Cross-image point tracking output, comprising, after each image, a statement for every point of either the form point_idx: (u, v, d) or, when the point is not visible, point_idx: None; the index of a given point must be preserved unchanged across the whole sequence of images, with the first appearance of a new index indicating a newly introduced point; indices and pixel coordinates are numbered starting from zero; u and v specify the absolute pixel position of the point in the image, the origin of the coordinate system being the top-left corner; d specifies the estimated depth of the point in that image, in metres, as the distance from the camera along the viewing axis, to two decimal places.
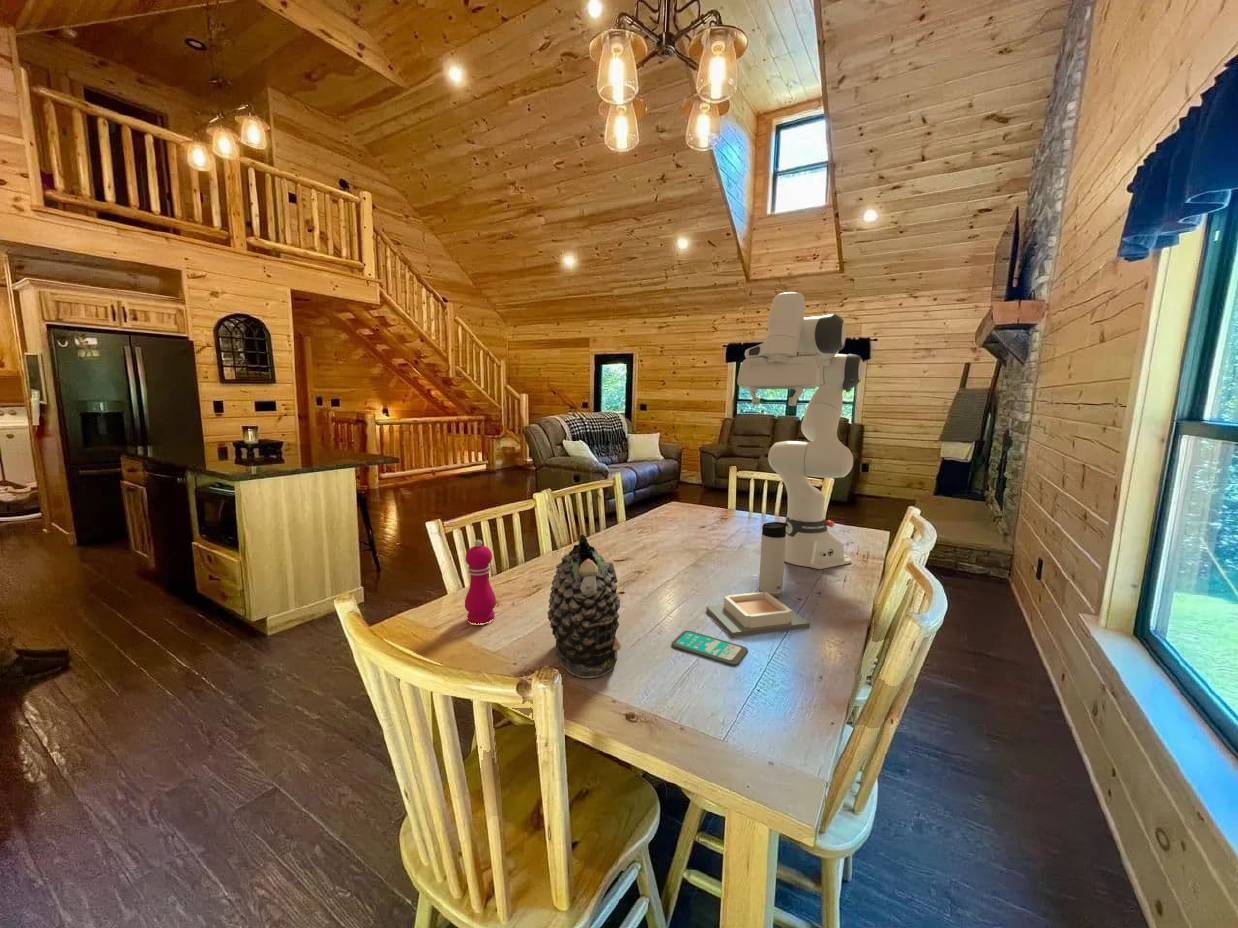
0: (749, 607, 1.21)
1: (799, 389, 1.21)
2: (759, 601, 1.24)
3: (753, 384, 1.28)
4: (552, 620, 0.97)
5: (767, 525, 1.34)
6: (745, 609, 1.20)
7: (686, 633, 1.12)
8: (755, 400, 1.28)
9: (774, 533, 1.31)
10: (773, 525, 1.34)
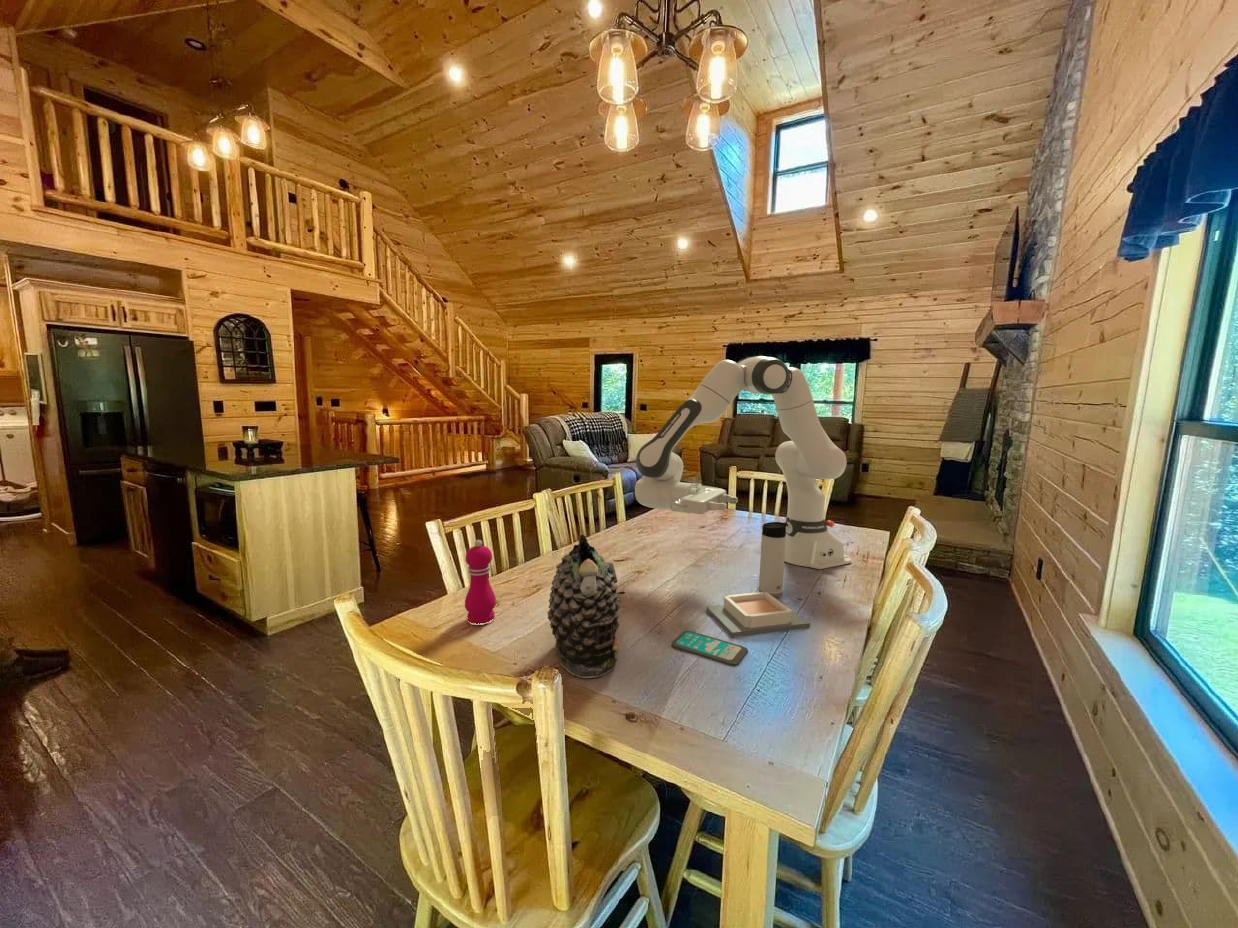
0: (749, 607, 1.21)
1: None
2: (759, 601, 1.24)
3: None
4: (552, 620, 0.97)
5: (767, 525, 1.34)
6: (745, 609, 1.20)
7: (686, 633, 1.12)
8: None
9: (774, 533, 1.31)
10: (773, 525, 1.34)
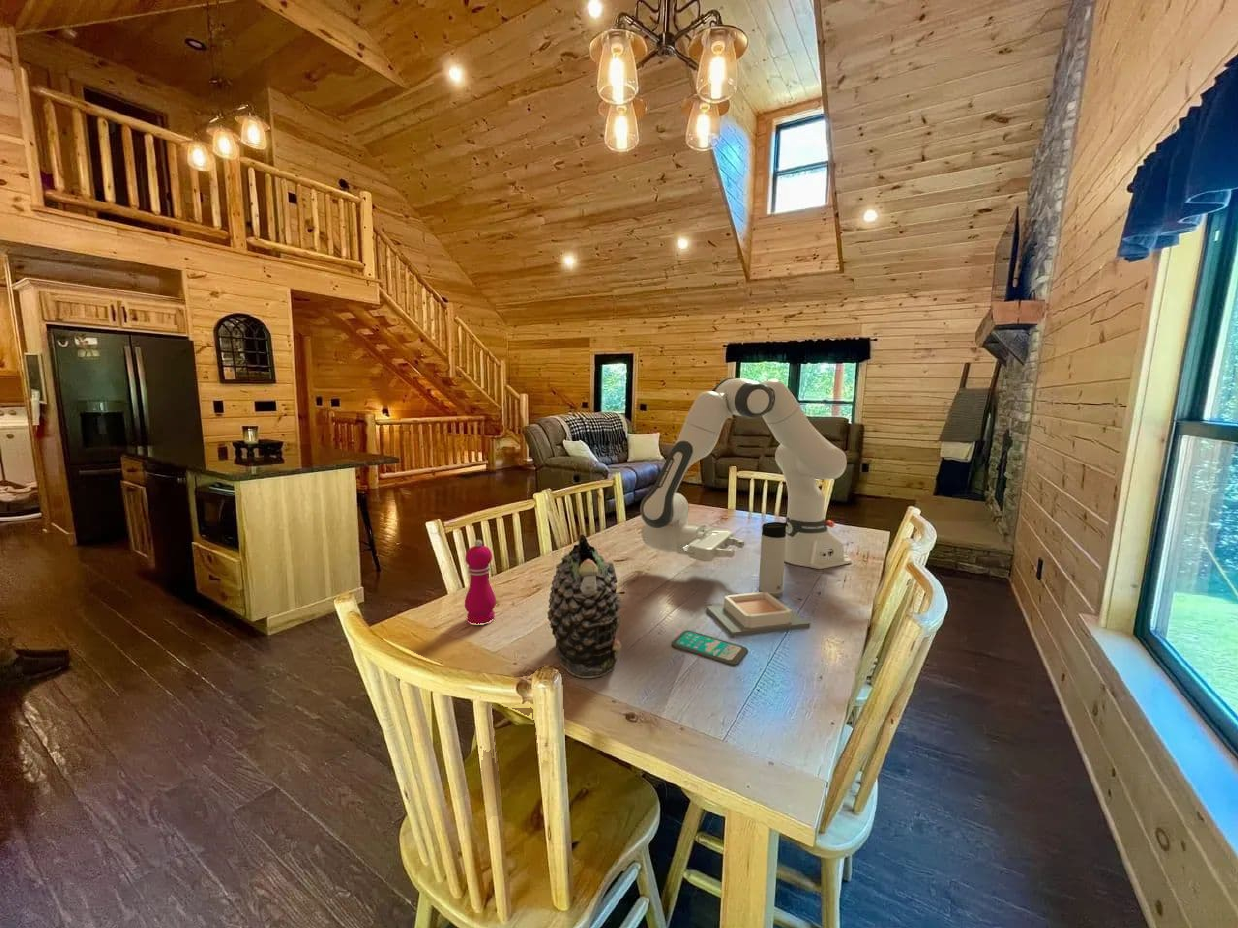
0: (749, 607, 1.21)
1: (718, 556, 1.36)
2: (759, 601, 1.24)
3: (727, 546, 1.47)
4: (552, 620, 0.97)
5: (767, 525, 1.34)
6: (745, 609, 1.20)
7: (686, 633, 1.12)
8: None
9: (774, 533, 1.31)
10: (773, 525, 1.34)
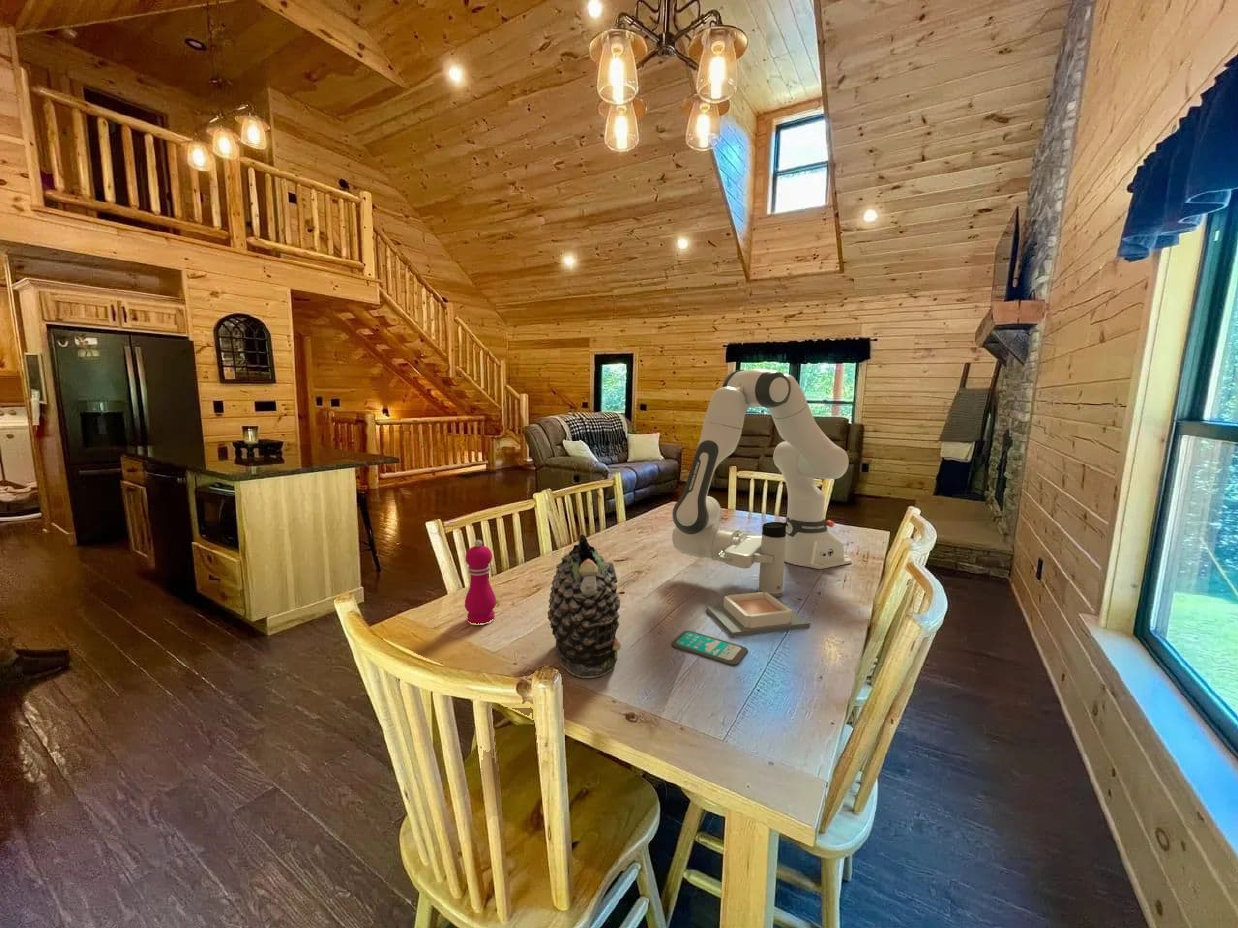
0: (749, 607, 1.21)
1: None
2: (759, 601, 1.24)
3: None
4: (552, 620, 0.97)
5: (767, 525, 1.34)
6: (745, 609, 1.20)
7: (686, 633, 1.12)
8: None
9: (774, 533, 1.31)
10: (773, 525, 1.34)
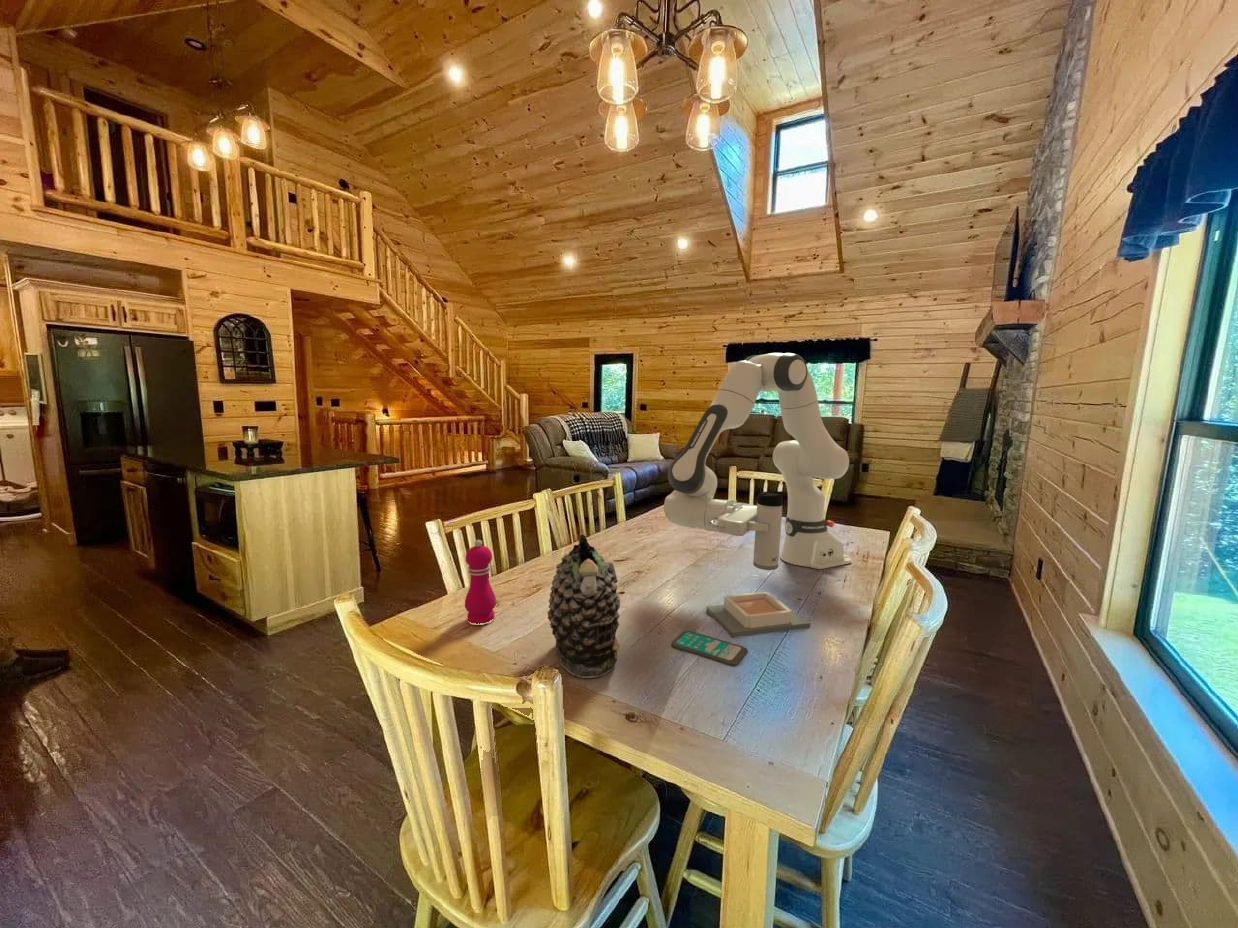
0: (749, 607, 1.21)
1: (751, 530, 1.24)
2: (759, 601, 1.24)
3: None
4: (552, 620, 0.97)
5: (763, 494, 1.27)
6: (745, 609, 1.20)
7: (686, 633, 1.12)
8: None
9: (770, 502, 1.24)
10: (769, 494, 1.27)
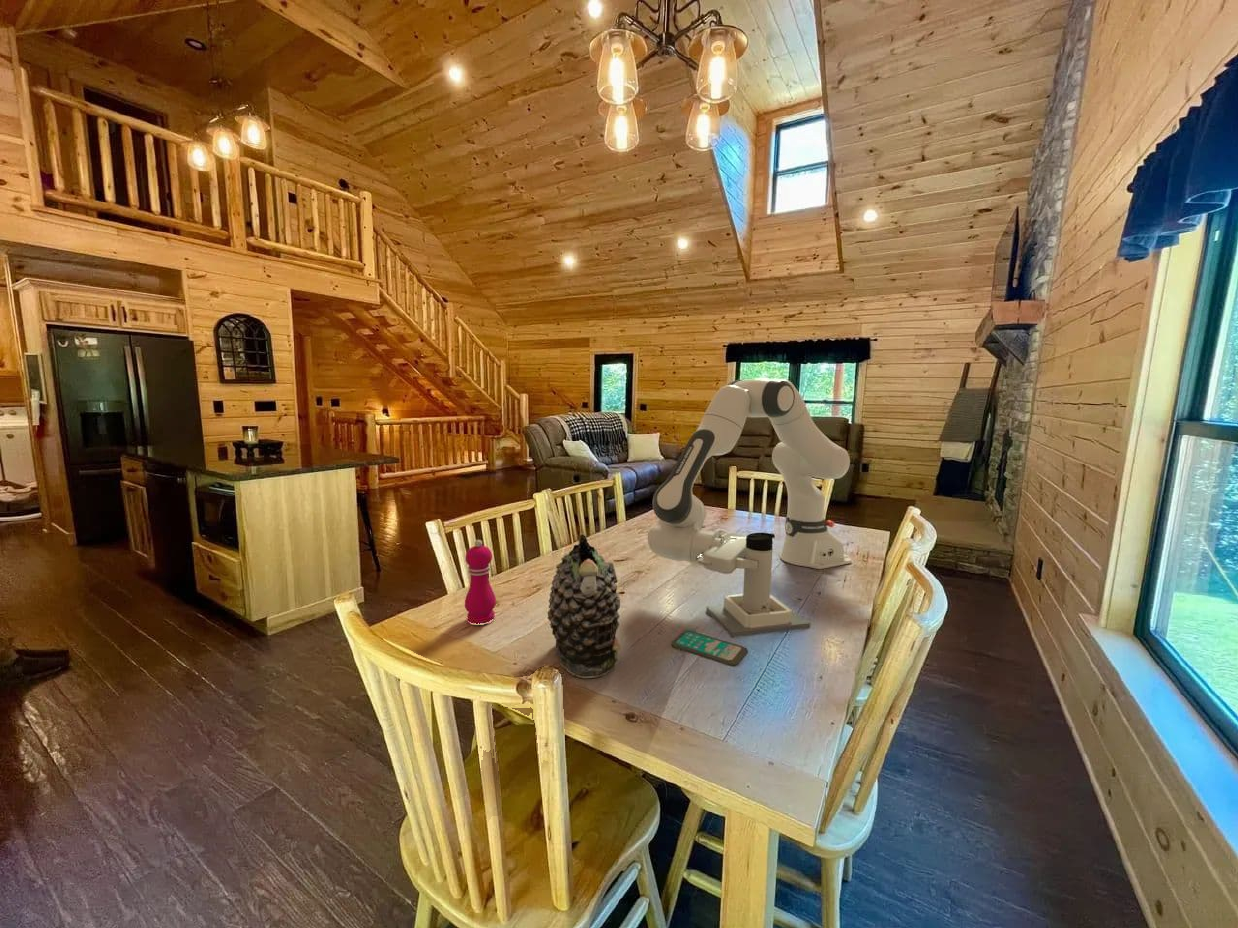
0: None
1: None
2: None
3: None
4: (552, 620, 0.97)
5: (752, 536, 1.19)
6: None
7: (686, 633, 1.12)
8: None
9: (758, 546, 1.15)
10: (758, 536, 1.18)
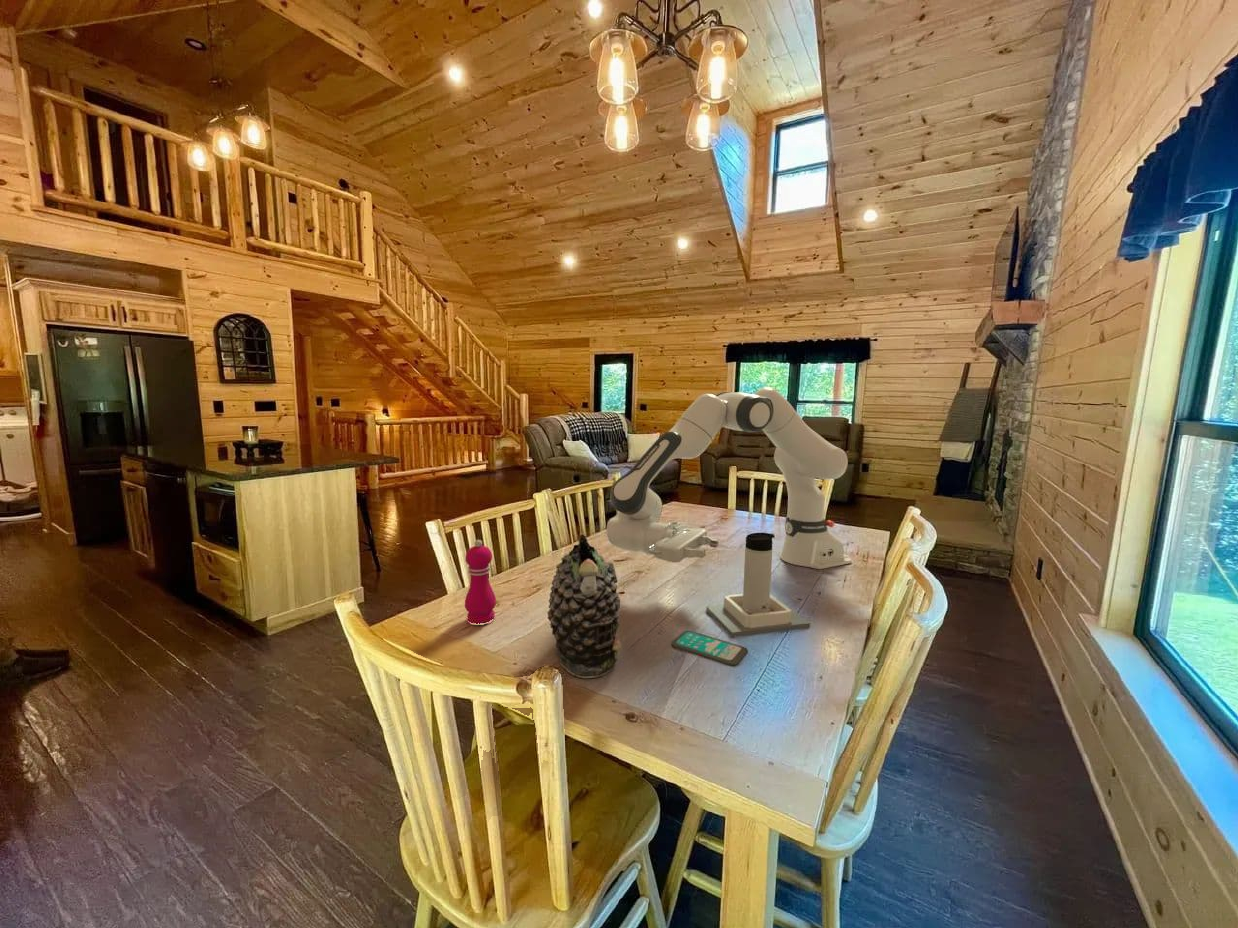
0: None
1: None
2: None
3: (700, 546, 1.32)
4: (552, 620, 0.97)
5: (751, 536, 1.19)
6: None
7: (686, 633, 1.12)
8: None
9: (758, 546, 1.15)
10: (758, 536, 1.18)
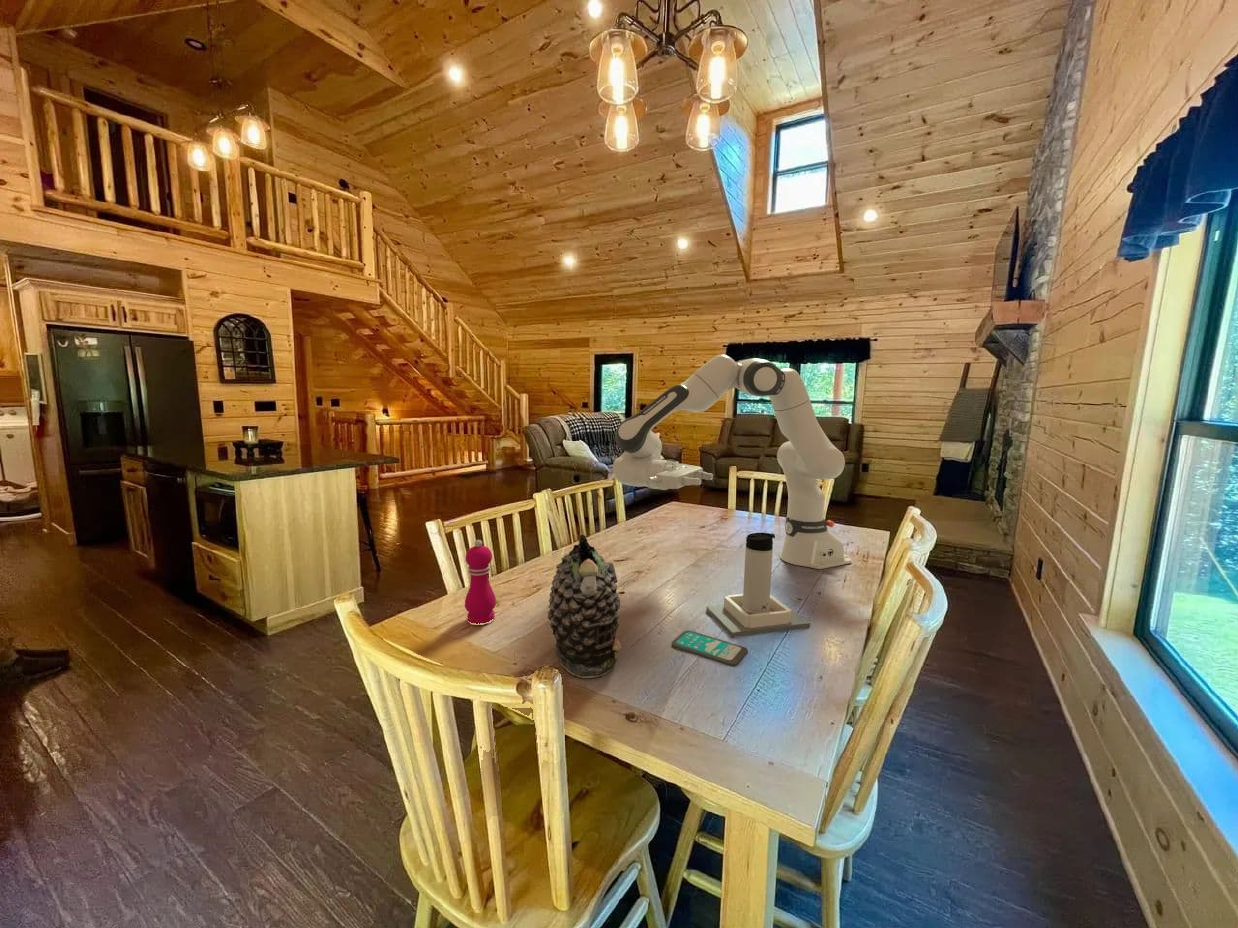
0: None
1: None
2: None
3: None
4: (552, 620, 0.97)
5: (752, 536, 1.19)
6: None
7: (687, 633, 1.12)
8: None
9: (759, 546, 1.15)
10: (758, 536, 1.18)
